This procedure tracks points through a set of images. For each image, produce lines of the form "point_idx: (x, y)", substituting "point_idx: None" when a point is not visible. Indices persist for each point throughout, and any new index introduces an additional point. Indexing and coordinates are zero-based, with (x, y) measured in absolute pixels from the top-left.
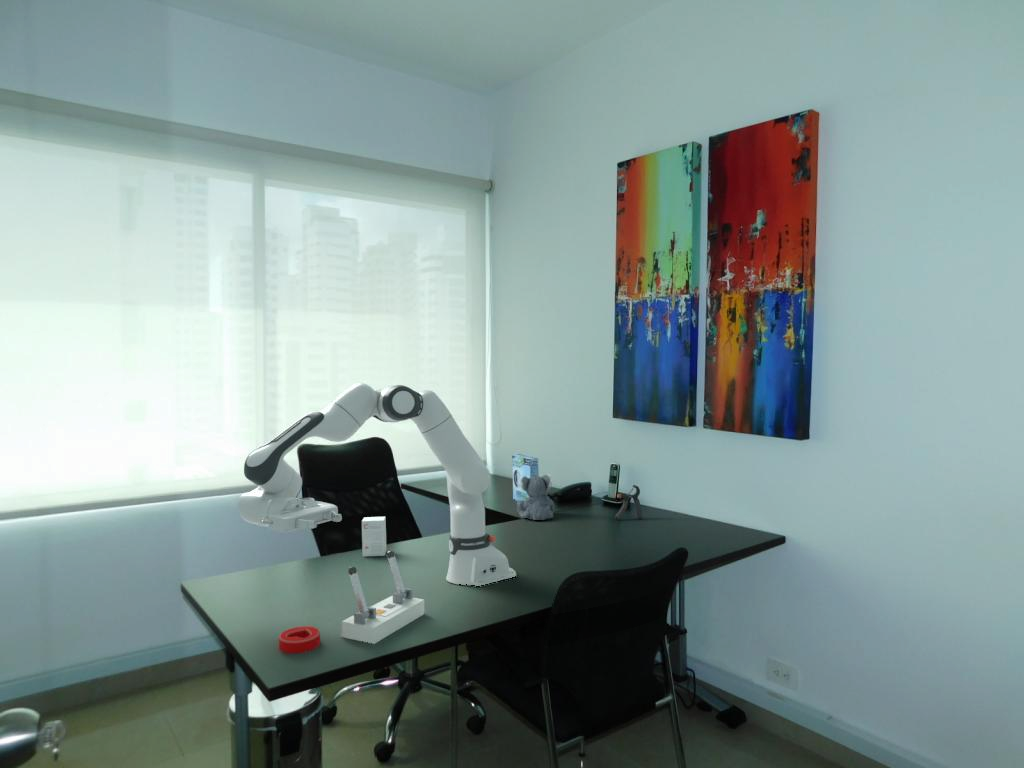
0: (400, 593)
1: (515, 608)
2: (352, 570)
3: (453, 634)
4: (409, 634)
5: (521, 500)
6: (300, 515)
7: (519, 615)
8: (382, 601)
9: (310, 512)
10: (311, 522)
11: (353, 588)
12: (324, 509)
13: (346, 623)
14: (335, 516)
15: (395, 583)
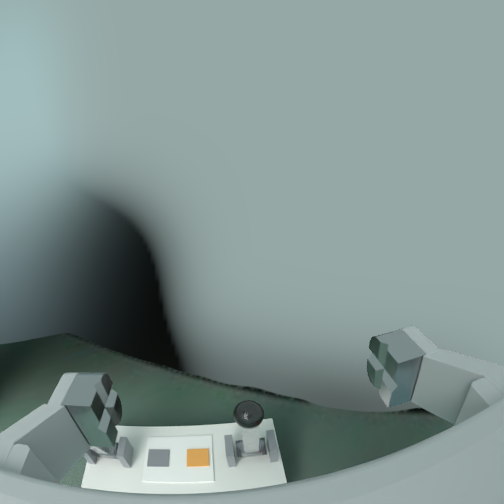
0: (116, 443)
1: (66, 352)
2: (257, 403)
3: (174, 372)
4: (203, 418)
5: None
6: (502, 402)
7: (89, 342)
8: (131, 491)
9: (322, 494)
10: (417, 332)
11: (258, 435)
12: (23, 482)
13: (285, 477)
14: (100, 397)
15: (98, 447)
